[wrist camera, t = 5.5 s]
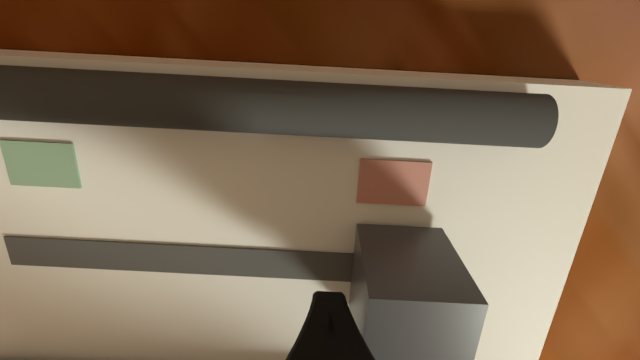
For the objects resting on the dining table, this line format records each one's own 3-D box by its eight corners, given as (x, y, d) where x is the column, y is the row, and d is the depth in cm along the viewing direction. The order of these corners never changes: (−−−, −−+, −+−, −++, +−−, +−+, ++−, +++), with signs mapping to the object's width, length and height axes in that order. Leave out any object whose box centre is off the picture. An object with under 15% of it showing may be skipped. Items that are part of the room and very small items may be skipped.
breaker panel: (497, 363, 19) (522, 411, 16) (-16, 337, 19) (-67, 382, 16) (580, 80, 14) (634, 89, 11) (-121, 42, 14) (-217, 44, 11)
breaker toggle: (424, 319, 14) (458, 417, 11) (347, 315, 14) (355, 411, 11) (442, 227, 13) (488, 304, 9) (356, 223, 13) (369, 298, 9)
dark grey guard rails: (455, 402, 17) (467, 438, 15) (2, 380, 16) (-30, 414, 15) (534, 90, 12) (565, 98, 10) (-111, 55, 11) (-176, 59, 10)
